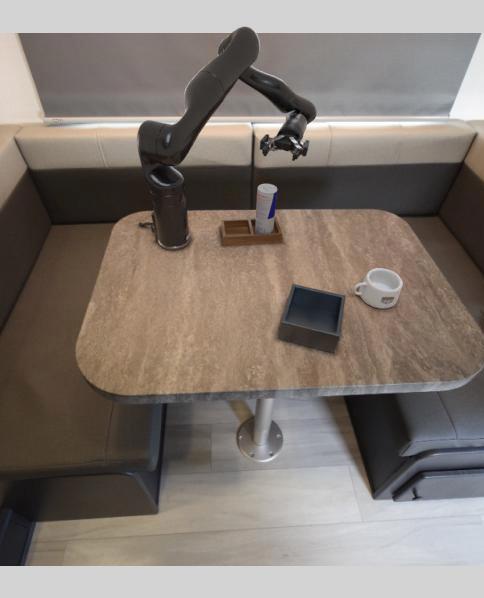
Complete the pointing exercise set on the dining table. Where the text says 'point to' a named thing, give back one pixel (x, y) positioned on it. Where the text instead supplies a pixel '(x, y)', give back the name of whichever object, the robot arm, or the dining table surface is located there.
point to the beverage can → (265, 208)
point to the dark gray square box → (312, 318)
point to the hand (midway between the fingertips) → (279, 155)
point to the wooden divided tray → (247, 232)
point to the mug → (380, 288)
